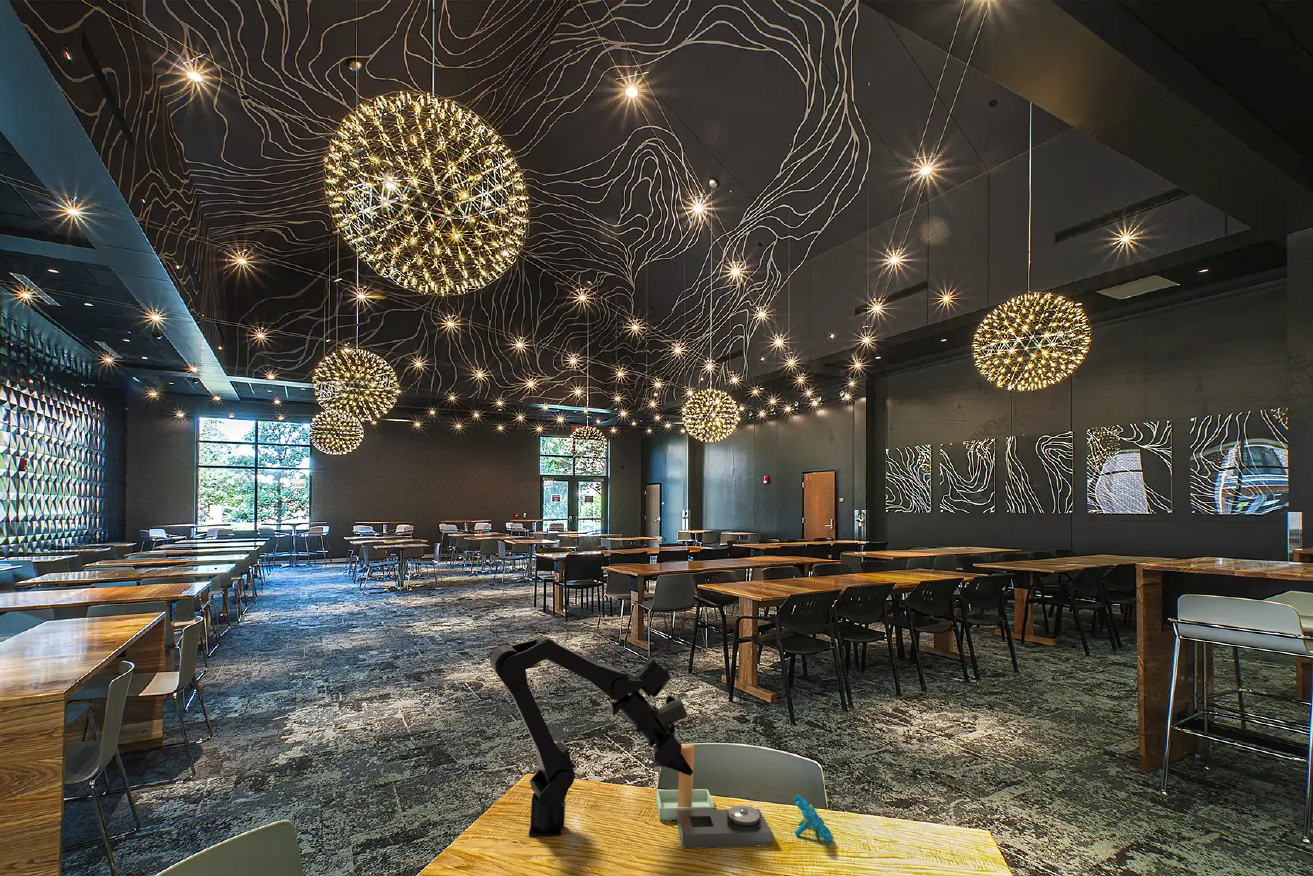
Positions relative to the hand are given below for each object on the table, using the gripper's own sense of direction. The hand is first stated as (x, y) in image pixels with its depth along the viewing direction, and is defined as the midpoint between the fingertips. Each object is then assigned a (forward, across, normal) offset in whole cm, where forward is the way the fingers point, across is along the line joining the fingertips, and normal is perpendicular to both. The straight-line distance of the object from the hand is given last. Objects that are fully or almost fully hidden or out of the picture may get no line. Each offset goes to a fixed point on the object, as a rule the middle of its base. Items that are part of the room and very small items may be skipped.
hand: (688, 765), depth 134 cm
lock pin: (+6, 0, +7) cm, 9 cm away
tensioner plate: (+11, -10, +3) cm, 15 cm away
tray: (+6, 0, +7) cm, 10 cm away
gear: (+24, -12, -10) cm, 29 cm away
